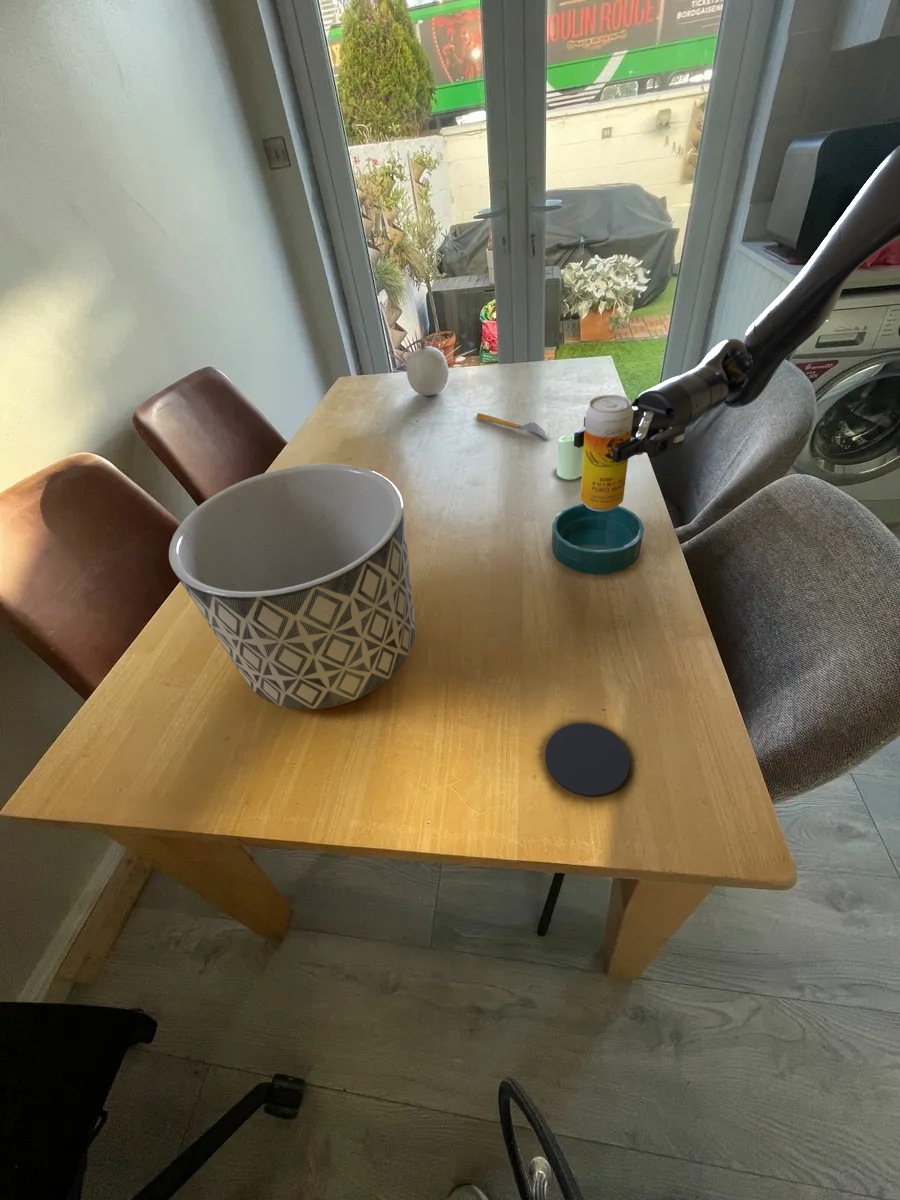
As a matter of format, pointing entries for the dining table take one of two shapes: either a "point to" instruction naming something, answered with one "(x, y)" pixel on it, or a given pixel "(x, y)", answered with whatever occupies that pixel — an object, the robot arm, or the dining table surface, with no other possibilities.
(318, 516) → the planter
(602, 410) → the beer can
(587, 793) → the coaster
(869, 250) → the robot arm
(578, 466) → the candle
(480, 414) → the fork
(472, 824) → the dining table surface
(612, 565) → the bowl
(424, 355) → the fruit
